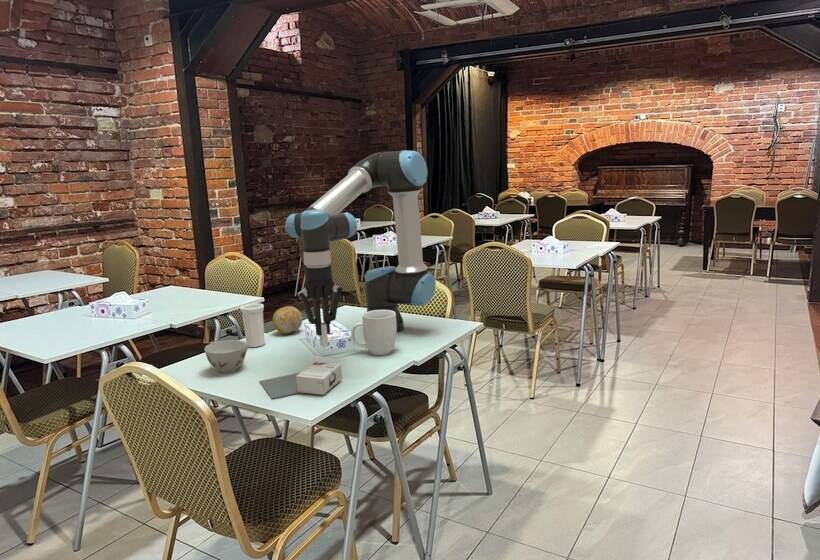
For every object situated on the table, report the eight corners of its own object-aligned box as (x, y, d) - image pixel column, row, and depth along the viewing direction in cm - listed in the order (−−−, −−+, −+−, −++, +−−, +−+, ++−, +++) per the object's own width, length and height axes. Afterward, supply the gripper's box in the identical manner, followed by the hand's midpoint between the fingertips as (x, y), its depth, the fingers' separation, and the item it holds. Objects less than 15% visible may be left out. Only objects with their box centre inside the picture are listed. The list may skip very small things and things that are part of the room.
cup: (250, 350, 199) (246, 310, 196) (240, 345, 205) (235, 306, 202) (271, 344, 204) (267, 305, 201) (261, 340, 210) (257, 302, 207)
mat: (318, 370, 177) (318, 368, 177) (335, 385, 163) (335, 384, 163) (259, 382, 169) (259, 380, 169) (271, 399, 156) (271, 398, 156)
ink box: (316, 376, 170) (295, 393, 159) (314, 360, 168) (294, 375, 158) (343, 379, 167) (324, 396, 156) (342, 362, 166) (322, 378, 155)
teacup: (226, 379, 172) (223, 354, 170) (198, 373, 179) (195, 348, 177) (263, 363, 185) (260, 339, 183) (235, 358, 191) (233, 335, 189)
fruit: (268, 334, 217) (266, 308, 215) (291, 327, 225) (289, 302, 223) (285, 339, 210) (283, 312, 208) (308, 331, 218) (306, 306, 216)
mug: (351, 359, 185) (348, 319, 182) (353, 348, 196) (351, 311, 193) (398, 356, 185) (396, 317, 183) (397, 346, 196) (395, 308, 194)
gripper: (335, 261, 169) (340, 338, 174) (291, 266, 164) (298, 346, 169) (344, 264, 163) (349, 344, 168) (299, 270, 157) (306, 353, 162)
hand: (324, 345), depth 168 cm, fingers closed
